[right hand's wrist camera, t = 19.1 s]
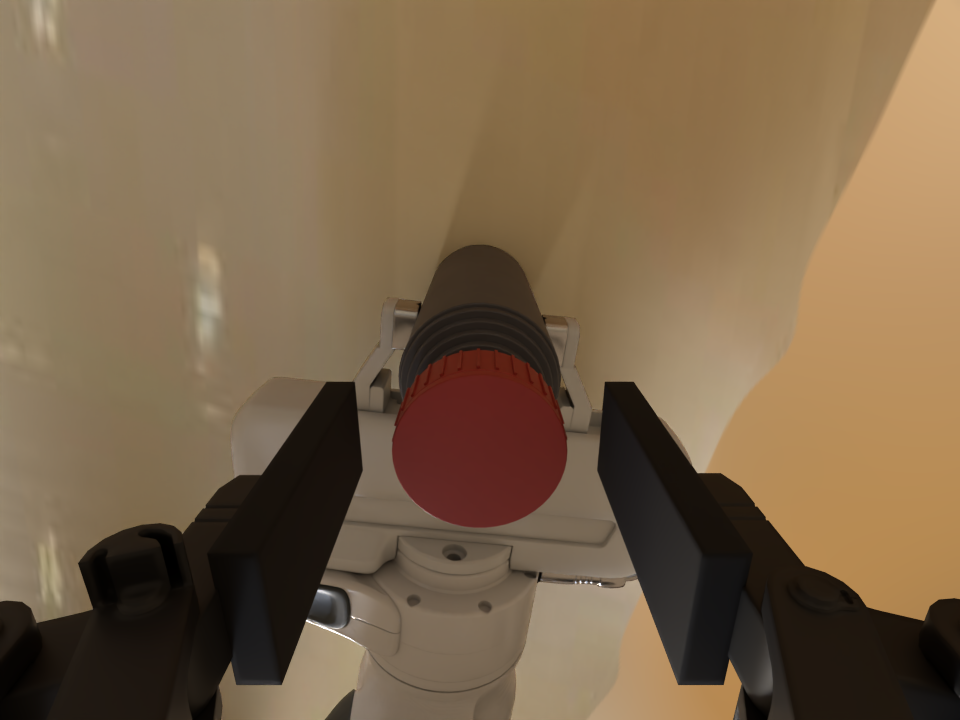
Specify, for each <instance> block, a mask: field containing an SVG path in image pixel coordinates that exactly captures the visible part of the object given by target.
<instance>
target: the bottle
mask: <svg viewBox="0 0 960 720" xmlns="http://www.w3.org/2000/svg"><path fill="white" fill-rule="evenodd" d="M477 348H480V350H488V351H494V350H498V352H500V353H504V354H507V355H510V356H511V355H514V356H515V358H517V359H519V360H521V361H522V362H524V363H527V362H528V363H529V364H530V367H531V368H533V369H534V370H535V371H536V372H537V373H538V374H539V373H541V374H542V376H543V380H544V381H545V382H546V384H547V385H548V386H551V388H552V391H553V394H554V397H555V400H557V398H558V395H559V390H560V382H561V372H560V364H559V360H558V356H557V354H556V351H555V348H554V346H553V343H552V341H551V338H550V336H549V333H548V331H547V328H546V326H545V323H544V321H543V318H542V316H541V313H540V311H539V308H538V306H537V303H536V301H535V298H534V296H533V293H532V291H531V288H530V286H529V283H528V281H527V278H526V276H525V273H524V271H523V269H522V268H521V266H520V265H519V263H518V262H517V261H516V260H515V259H514V258H513V257H512V256H510V255H509V254H508V253H506V252H504V251H503V250H501V249H498V248H496V247H492V246H487V245H473V246H468V247H464V248H462V249H459V250H457V251H455V252H454V253H452V254H451V255H449V256H448V257H447V258H446V259H445V260H444V261H443V262H442V263H441V264H440V266H439V267H438V269H437V271H436V272H435V275H434V277H433V280H432V282H431V285H430V287H429V290H428V292H427V295H426V297H425V300H424V302H423V305H422V307H421V310H420V312H419V315H418V317H417V320H416V322H415V325H414V327H413V330H412V332H411V335H410V337H409V340H408V342H407V345H406V347H405V350H404V352H403V355H402V358H401V362H400V367H399V387H400V392H401V396H402V399H403V400H404V397H405V394H406V391H407V388H408V387H409V388H411V386H412V384H413V383H414V381H415V378H416V376H417V375H420V374H421V373H422V372H423V371H425V370H426V369H427V368H428V365H429V364H431V365H432V364H434V363H435V362H437V361H439V360H441V359H442V358H443V356H445V355H446V357H447V356H450V355H452V354H456V353H459V351H461V350H463V352H464V351H472V350H477Z"/></svg>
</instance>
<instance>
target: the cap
mask: <svg viewBox="0 0 960 720" xmlns="http://www.w3.org/2000/svg"><path fill="white" fill-rule="evenodd" d="M563 424H565V423H564V420H563V417H562V414H561V411H560V407H559V404H558V401H557V400H555V397H554V394H553V391H552V388H551V386H548V385H547V384H546V382H545V381H544V380H543V376H542V374H541V373H539V374H538V373H537V372H536V371H535V370H534V369H533V368H531V367H530V364H529V363H528V362H527V363H524V362H522V361H521V360H519V359H517V358H515V356H514V355H511V356H510V355H507V354H504V353H500V352H498V350H494V351H488V350H480V348H477V350H472V351H464V352H463V350H461V351H459V353H456V354H452V355H450V356H447V357H446V355H445V356H443V358H442V359H441V360H439V361H437V362H435V363H434V364H432V365H431V364H429V365H428V368H427V369H426V370H425V371H423V372H422V373H421V374H420V375H417V376H416V378H415V381H414V383H413V384H412V386H411V388H409V387H408V388H407V391H406V394H405V397H404V400H403V402H402V403H401V406H400V409H399V412H398V415H397V418H396V421H395V424H394V426H396V428H395V431H394V434H393V438H392V442H393V443H392V460H393V465H394V469H395V472H396V475H397V478H398V480H399V482H400V484H401V486H402V487H403V489H404V490H405V492H406V493H407V494H408V496H409V497H410V498H411V499H412V500H413V501H414V502H415V503H416V504H417V505H418V506H419V507H420V508H422V509H423V510H424V511H426V512H427V513H429V514H430V515H432V516H434V517H436V518H438V519H440V520H442V521H445V522H448V523H451V524H454V525H458V526H463V527H471V528H488V527H497V526H501V525H506V524H509V523H512V522H515V521H517V520H519V519H522V518H524V517H526V516H527V515H529V514H531V513H532V512H534V511H535V510H537V509H538V508H539V507H540V506H541V505H543V504H544V503H545V502H546V501H547V500H548V499H549V498H550V496H551V495H552V494H553V492H554V491H555V490H556V488H557V486H558V484H559V483H560V481H561V479H562V476H563V473H564V471H565V466H566V462H567V435H566V432H565V428H564V425H563Z"/></svg>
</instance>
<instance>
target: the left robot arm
mask: <svg viewBox="0 0 960 720" xmlns="http://www.w3.org/2000/svg"><path fill="white" fill-rule="evenodd" d="M421 303H422V302H420V301H412V300H405V299H399V298H387V299H386V301H385V302H384V304H383V309H382V314H381V332H380V341H379V342H378V343H377V345H376V346H375V348H374V349H373V351H372V352H371V353H370V355H369V356H368V358H367V359H366V360H365V362H364V363H363V365H362V366H361V368H360V370H359V371H358V373H357V375H356V377H355V378H354V380H353V382H355V387H356V398H357V410H358V421H359V432H360V443H361V454H362V465H363V472H362V474H361V477H360V480H359V482H358V485H357V488H356V490H355V493H354V495H353V498H352V501H351V503H350V506H349V509H348V511H347V514H346V517H345V519H344V522H343V524H342V527H341V530H340V532H339V535H338V538H337V540H336V543H335V546H334V548H333V551H332V553H331V556H330V559H329V561H328V564H327V567H326V569H325V572H324V575H323V577H322V580H321V583H320V585H319V588H318V590H317V593H316V596H315V598H314V601H313V604H312V606H311V609H310V612H309V614H308V617H307V619H306V621H307V622H309V623H312V624H315V625H317V626H320V627H323V628H325V629H328V630H330V631H332V632H335V633H337V634H339V635H341V636H344V637H346V638H348V639H350V640H352V641H354V642H355V643H357V644H359V645H361V646H363V647H365V648H366V650H365V653H364V655H363V658H362V661H361V664H360V669H359V675H358V683H357V691H355V690H354V689H353V690H352V691H351V692H349V693H348V694H347V695H346V696H345V697H344V698H343V699H342V700H341V701H340V702H339V703H338V704H337V705H336V706H335V708H334V709H333V710H332V711H331V713H330V714H329V715H328V716H327V718H326V719H325V720H510V719H511V714H512V710H513V705H514V700H515V692H516V674H515V667H516V665H517V663H518V661H519V659H520V657H521V655H522V652H523V649H524V646H525V643H526V637H527V632H528V627H529V622H530V617H531V612H532V606H533V601H534V597H535V591H536V586H537V583H538V582H547V583H558V584H591V585H597V586H599V587H603V588H620V587H623V586H624V585H625V582H626V581H632V580H636V579H638V577H637V575H636V572H635V569H634V567H633V564H632V561H631V559H630V556H629V554H628V551H627V548H626V546H625V543H624V540H623V538H622V535H621V532H620V530H619V527H618V524H617V522H616V519H615V517H614V514H613V511H612V509H611V506H610V503H609V501H608V498H607V495H606V493H605V490H604V488H603V485H602V482H601V480H600V477H599V474H598V472H597V465H598V454H599V443H600V432H601V421H602V410H593V409H592V407H591V404H590V402H589V399H588V397H587V394H586V391H585V389H584V386H583V384H582V381H581V379H580V376H579V374H578V371H577V369H576V366H575V364H574V363H575V358H576V353H577V347H578V342H579V336H580V326H579V323H578V322H577V320H576V319H575V318H570V317H561V316H551V315H542V318H543V321H544V323H545V326H546V328H547V331H548V333H549V336H550V338H551V341H552V343H553V346H554V348H555V351H556V354H557V356H558V360H559V364H560V372H561V375H562V377H563V380H564V382H565V385H566V387H567V389H565V388H564V387H560V390H559V395H558V398H557V401H558V404H559V407H560V411H561V414H562V417H563V420H564V423H565V424H563V425H564V428H565V432H566V435H567V462H566V466H565V471H564V473H563V476H562V479H561V481H560V483H559V484H558V486H557V488H556V490H555V491H554V492H553V494H552V495H551V496H550V498H549V499H548V500H547V501H546V502H545V503H544V504H543V505H541V506H540V507H539V508H538V509H537V510H535V511H534V512H532V513H531V514H529V515H527V516H526V517H524V518H522V519H519V520H517V521H515V522H512V523H509V524H506V525H501V526H497V527H488V528H471V527H463V526H458V525H454V524H451V523H448V522H445V521H442V520H440V519H438V518H436V517H434V516H432V515H430V514H429V513H427V512H426V511H424V510H423V509H422V508H420V507H419V506H418V505H417V504H416V503H415V502H414V501H413V500H412V499H411V498H410V497H409V496H408V494H407V493H406V492H405V490H404V489H403V487H402V486H401V484H400V482H399V480H398V478H397V475H396V472H395V469H394V465H393V460H392V443H393V442H392V438H393V434H394V431H395V428H396V426H394V424H395V421H396V418H397V415H398V412H399V409H400V406H401V403H402V402H403V399H402V396H401V392H400V390H399V389H391V371H390V369H383V366H384V365H385V363H386V362H387V360H388V359H389V358H390V356H391V355H392V353H393V352H394V351H395V349H402V350H405V347H406V345H407V342H408V340H409V337H410V335H411V332H412V330H413V327H414V325H415V322H416V320H417V317H418V315H419V312H420V310H421ZM325 383H326V382H322V381H313V380H303V379H294V378H285V377H275V378H272V379H270V380H268V381H267V382H266V383H265V384H263V385H262V386H261V387H260V388H259V389H258V390H256V391H255V392H254V393H253V394H252V395H251V396H250V397H249V398H248V399H247V400H246V401H245V402H244V404H243V405H242V406H241V407H240V408H239V410H238V411H237V413H236V415H235V417H234V419H233V421H232V425H231V452H232V462H233V471H234V478H236V477H237V476H239V475H262V474H263V472H264V471H265V469H266V468H267V466H268V465H269V464H270V462H271V461H272V459H273V458H274V456H275V455H276V454H277V452H278V451H279V449H280V448H281V446H282V445H283V443H284V442H285V441H286V439H287V438H288V436H289V435H290V433H291V432H292V431H293V429H294V428H295V426H296V425H297V423H298V422H299V421H300V419H301V418H302V416H303V415H304V413H305V412H306V410H307V409H308V408H309V406H310V405H311V403H312V402H313V400H314V399H315V398H316V396H317V395H318V393H319V392H320V390H321V389H322V388H323V386H324V385H325ZM658 418H659V419H660V421H661V422H662V423H663V425H664V426H665V428H666V429H667V431H668V432H669V433H670V435H671V436H672V438H673V439H674V441H675V442H676V443H677V445H678V446H679V448H680V449H681V451H682V452H683V454H684V455H685V456H686V458H687V459H688V461H689V462H690V464H691V465H692V463H691V460H690V457H689V455H688V453H687V451H686V449H685V448H684V446H683V444H682V443H681V441H680V440H679V438H678V437H677V435H676V434H675V433H674V432H673V430H672V429H671V428H670V427H669V426H668V424H667V423H666V422H665V421H664V420H663V419H661V418H660V417H658Z"/></svg>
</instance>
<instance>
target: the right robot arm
mask: <svg viewBox="0 0 960 720" xmlns="http://www.w3.org/2000/svg"><path fill="white" fill-rule="evenodd" d="M362 472H363V465H362V454H361V443H360V432H359V421H358V410H357V398H356V387H355V382H326V383H325V385H324V386H323V388H322V389H321V390H320V392H319V393H318V395H317V396H316V398H315V399H314V400H313V402H312V403H311V405H310V406H309V408H308V409H307V410H306V412H305V413H304V415H303V416H302V418H301V419H300V421H299V422H298V423H297V425H296V426H295V428H294V429H293V431H292V432H291V433H290V435H289V436H288V438H287V439H286V441H285V442H284V443H283V445H282V446H281V448H280V449H279V451H278V452H277V454H276V455H275V456H274V458H273V459H272V461H271V462H270V464H269V465H268V466H267V468H266V469H265V471H264V472H263V474H262V475H239V476H237V477H236V478H234V479H233V480H231V481H230V482H228V483H227V484H225V485H224V486H222V487H221V488H219V489H218V490H217V492H216V493H215V494H214V495H213V497H212V498H211V499H210V500H209V502H208V503H207V504H206V508H203V509H202V510H201V512H200V513H199V514H198V515H197V517H196V518H195V522H192V523H191V524H190V526H189V527H188V528H187V529H186V531H185V532H184V533H183V534H182V532H180V531H179V530H178V529H177V528H176V527H174V526H171V525H166V524H161V523H158V524H146V525H140V526H136V527H133V528H129V529H126V530H122V531H120V532H118V533H116V534H114V535H112V536H110V537H108V538H105V539H103V540H102V541H101V542H99V543H98V544H97V545H95V546H94V547H92V548H91V549H90V550H88V551H87V553H86V554H85V555H84V556H83V558H82V559H81V560H80V561H79V563H78V565H79V568H80V571H81V574H82V577H83V580H84V583H85V586H86V589H87V592H88V595H89V598H90V601H91V604H92V607H93V610H90V611H86V612H83V613H78V614H74V615H70V616H66V617H61V618H57V619H53V620H48V621H44V622H40V623H36V620H35V618H34V615H33V613H32V610H31V608H30V607H28V606H27V605H26V604H24V603H23V602H17V601H2V602H0V720H221V715H222V700H221V693H220V689H219V683H220V681H221V679H222V677H223V675H224V673H225V671H226V669H227V667H228V665H229V663H230V661H231V663H232V667H233V672H234V676H235V681H236V685H282V683H283V680H284V677H285V675H286V672H287V670H288V667H289V664H290V662H291V659H292V656H293V654H294V651H295V648H296V646H297V643H298V641H299V638H300V635H301V633H302V630H303V627H304V625H305V622H306V619H307V617H308V614H309V612H310V609H311V606H312V604H313V601H314V598H315V596H316V593H317V590H318V588H319V585H320V583H321V580H322V577H323V575H324V572H325V569H326V567H327V564H328V561H329V559H330V556H331V553H332V551H333V548H334V546H335V543H336V540H337V538H338V535H339V532H340V530H341V527H342V524H343V522H344V519H345V517H346V514H347V511H348V509H349V506H350V503H351V501H352V498H353V495H354V493H355V490H356V488H357V485H358V482H359V480H360V477H361V474H362ZM597 472H598V474H599V477H600V480H601V482H602V485H603V488H604V490H605V493H606V495H607V498H608V501H609V503H610V506H611V509H612V511H613V514H614V517H615V519H616V522H617V524H618V527H619V530H620V532H621V535H622V538H623V540H624V543H625V546H626V548H627V551H628V554H629V556H630V559H631V561H632V564H633V567H634V569H635V572H636V575H637V577H638V580H639V583H640V585H641V588H642V590H643V593H644V596H645V598H646V601H647V604H648V606H649V609H650V612H651V614H652V617H653V619H654V622H655V625H656V627H657V630H658V633H659V635H660V638H661V641H662V643H663V646H664V648H665V651H666V654H667V656H668V659H669V662H670V664H671V667H672V670H673V672H674V675H675V677H676V680H677V683H678V685H724V681H725V676H726V672H727V667H728V663H729V659H730V661H731V663H732V665H733V667H734V669H735V671H736V673H737V675H738V677H739V679H740V681H741V683H742V685H741V689H740V693H739V698H738V702H737V706H736V710H735V714H734V718H733V720H960V599H955V598H953V599H941V600H938V601H936V602H935V603H934V604H932V605H931V606H930V608H929V610H928V613H927V615H926V618H925V620H924V621H922V620H918V619H913V618H909V617H905V616H900V615H896V614H891V613H887V612H882V611H879V610H875V609H871V608H868V607H866V605H865V604H864V602H863V601H862V599H861V598H860V597H859V595H858V594H857V593H856V592H855V591H853V590H852V589H851V588H850V587H849V586H847V585H846V584H845V583H844V582H842V581H840V580H838V579H837V578H835V577H833V576H831V575H829V574H827V573H825V572H822V571H819V570H816V569H813V568H810V567H807V566H805V565H804V564H803V563H802V562H801V560H800V559H799V558H798V557H797V556H796V554H795V553H794V552H793V551H792V549H791V548H790V547H789V546H788V544H787V543H786V542H785V541H784V539H783V538H782V537H781V536H780V534H779V533H778V532H777V531H776V529H775V528H774V527H773V526H772V524H771V523H770V522H769V521H768V520H766V517H765V516H764V514H763V513H762V512H761V511H760V510H759V508H758V507H755V503H754V502H753V501H752V500H751V498H750V497H749V496H748V495H747V493H746V492H745V491H744V490H743V488H742V487H741V486H739V485H738V484H736V483H734V482H733V481H731V480H730V479H728V478H727V477H726V476H724V475H723V474H721V473H697V472H696V471H695V469H694V468H693V466H692V465H691V464H690V462H689V461H688V459H687V458H686V456H685V455H684V454H683V452H682V451H681V449H680V448H679V446H678V445H677V443H676V442H675V441H674V439H673V438H672V436H671V435H670V433H669V432H668V431H667V429H666V428H665V426H664V425H663V423H662V422H661V421H660V419H659V418H658V416H657V415H656V413H655V412H654V410H653V409H652V408H651V406H650V405H649V403H648V402H647V400H646V399H645V398H644V396H643V395H642V393H641V392H640V390H639V389H638V388H637V386H636V385H635V383H634V382H605V387H604V398H603V410H602V421H601V432H600V443H599V454H598V465H597Z"/></svg>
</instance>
